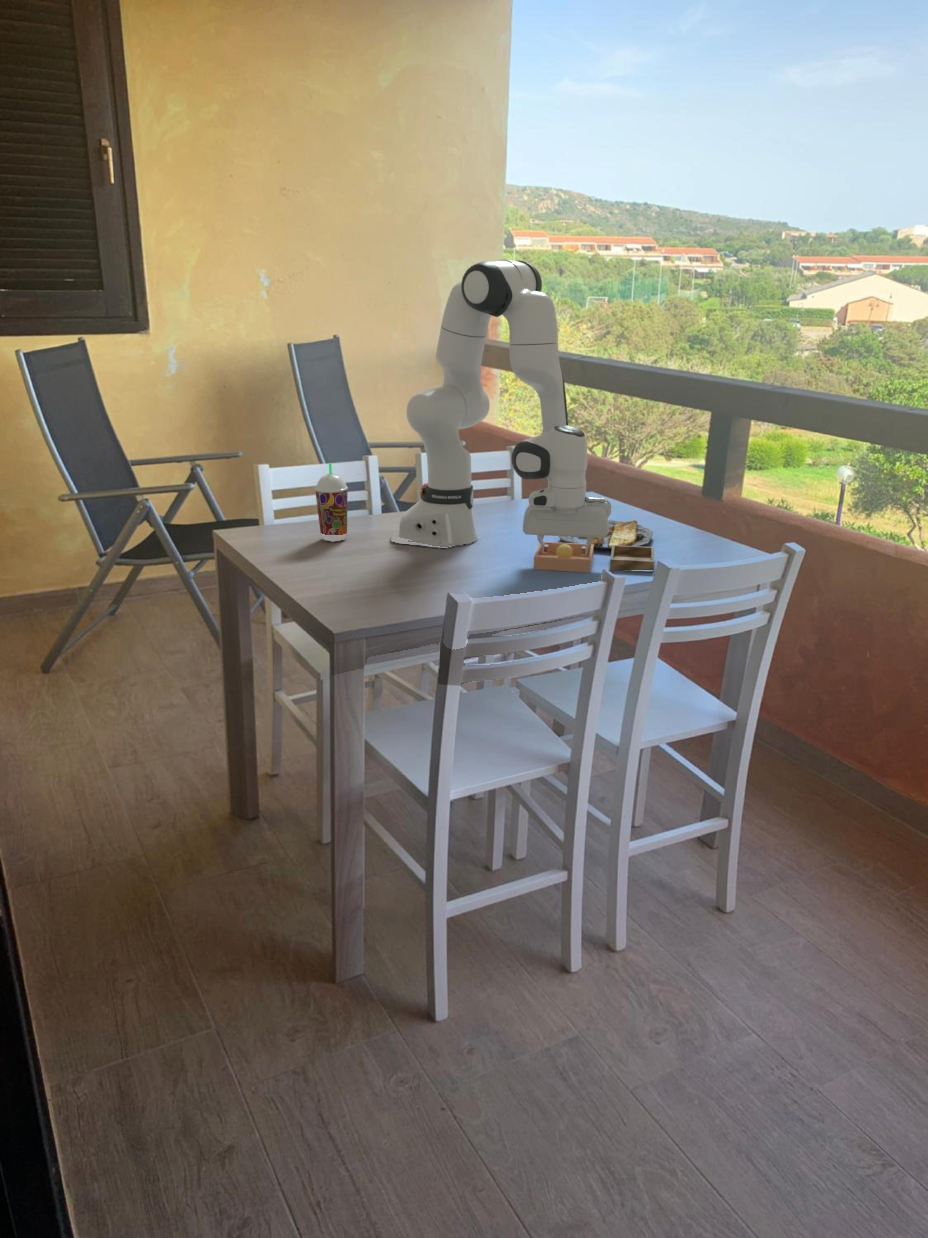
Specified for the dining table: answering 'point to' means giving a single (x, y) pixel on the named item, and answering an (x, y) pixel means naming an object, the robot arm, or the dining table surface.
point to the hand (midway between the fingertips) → (564, 553)
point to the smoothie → (332, 504)
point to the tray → (632, 558)
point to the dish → (564, 564)
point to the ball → (564, 551)
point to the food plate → (619, 535)
